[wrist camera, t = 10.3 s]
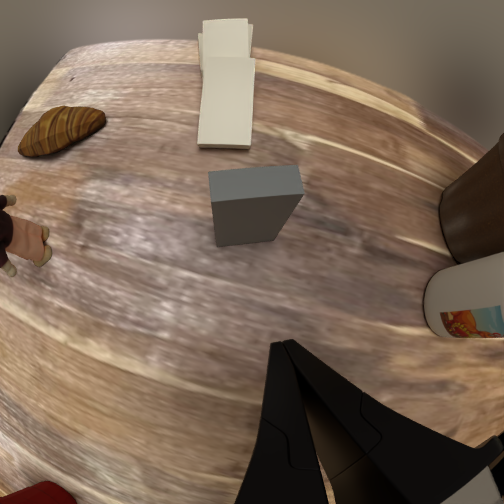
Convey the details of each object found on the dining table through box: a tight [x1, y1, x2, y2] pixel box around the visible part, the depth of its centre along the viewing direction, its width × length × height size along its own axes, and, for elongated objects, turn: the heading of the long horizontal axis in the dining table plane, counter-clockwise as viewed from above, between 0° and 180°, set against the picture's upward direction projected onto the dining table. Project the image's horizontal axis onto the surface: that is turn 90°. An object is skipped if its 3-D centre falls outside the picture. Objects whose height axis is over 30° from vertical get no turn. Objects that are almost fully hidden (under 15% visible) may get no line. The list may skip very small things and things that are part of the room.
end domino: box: [208, 165, 305, 247], centre depth 19 cm, size 2×5×10 cm, turn 98°
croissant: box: [18, 106, 106, 157], centre depth 22 cm, size 14×7×5 cm, turn 100°
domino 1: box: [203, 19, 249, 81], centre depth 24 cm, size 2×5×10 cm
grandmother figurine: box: [0, 195, 52, 277], centre depth 15 cm, size 8×4×13 cm, turn 31°
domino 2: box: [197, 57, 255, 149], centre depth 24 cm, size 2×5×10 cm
